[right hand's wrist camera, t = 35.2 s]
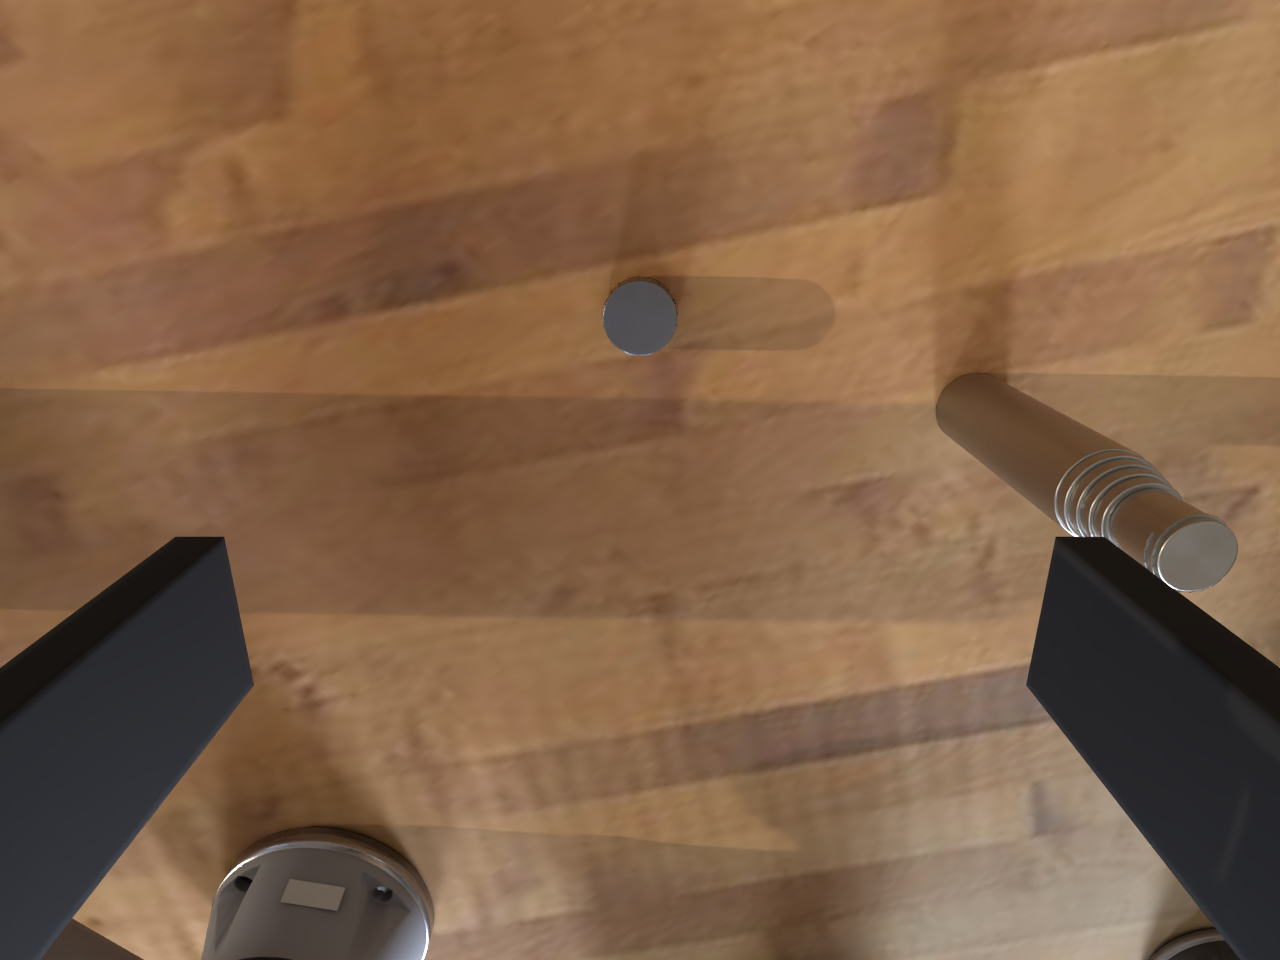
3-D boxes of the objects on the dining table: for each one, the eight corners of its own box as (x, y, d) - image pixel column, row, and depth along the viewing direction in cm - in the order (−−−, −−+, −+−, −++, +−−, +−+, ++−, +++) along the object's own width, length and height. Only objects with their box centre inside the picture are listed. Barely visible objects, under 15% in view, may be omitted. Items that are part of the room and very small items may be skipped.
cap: (670, 353, 44) (671, 361, 42) (599, 343, 44) (597, 351, 42) (681, 281, 43) (683, 285, 40) (608, 271, 42) (606, 275, 40)
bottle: (921, 405, 45) (1115, 553, 27) (981, 357, 44) (1224, 477, 26) (961, 455, 46) (1174, 630, 28) (1020, 409, 45) (1281, 560, 27)
